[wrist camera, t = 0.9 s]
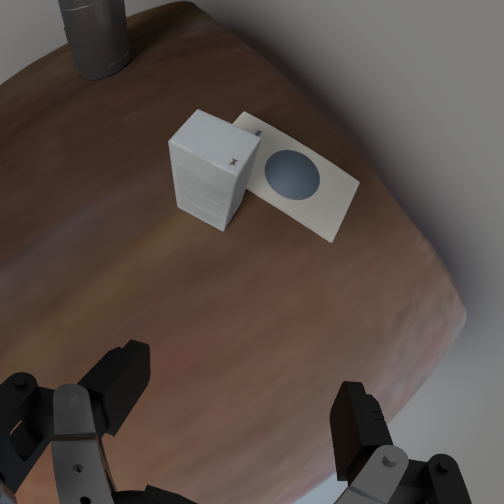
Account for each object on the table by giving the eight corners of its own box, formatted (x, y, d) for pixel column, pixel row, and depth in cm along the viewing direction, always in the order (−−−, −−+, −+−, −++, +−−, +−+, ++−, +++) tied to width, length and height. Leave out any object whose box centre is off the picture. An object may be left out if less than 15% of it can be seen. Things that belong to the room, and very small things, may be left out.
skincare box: (242, 202, 32) (265, 138, 21) (223, 233, 31) (238, 178, 20) (195, 177, 32) (197, 106, 21) (175, 207, 31) (165, 142, 19)
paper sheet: (199, 161, 33) (199, 159, 32) (243, 112, 36) (244, 110, 35) (331, 243, 33) (332, 242, 32) (358, 183, 36) (360, 181, 36)
